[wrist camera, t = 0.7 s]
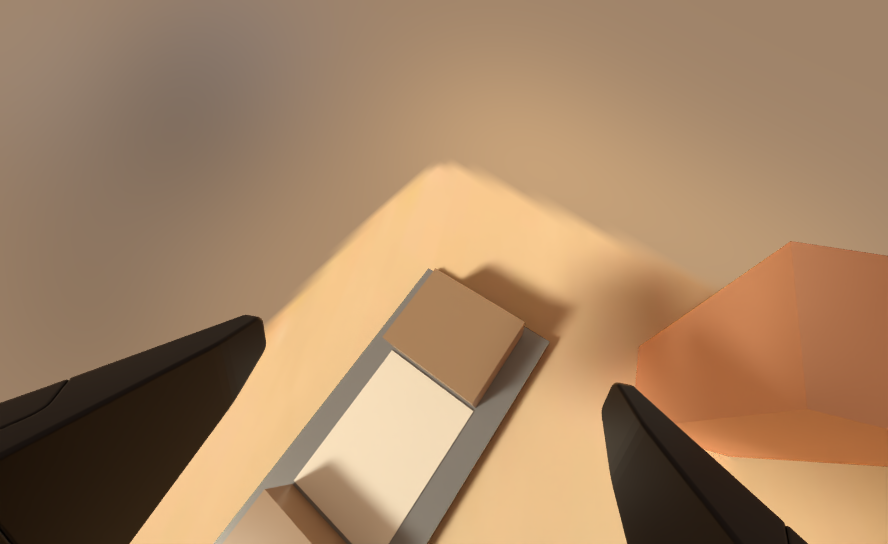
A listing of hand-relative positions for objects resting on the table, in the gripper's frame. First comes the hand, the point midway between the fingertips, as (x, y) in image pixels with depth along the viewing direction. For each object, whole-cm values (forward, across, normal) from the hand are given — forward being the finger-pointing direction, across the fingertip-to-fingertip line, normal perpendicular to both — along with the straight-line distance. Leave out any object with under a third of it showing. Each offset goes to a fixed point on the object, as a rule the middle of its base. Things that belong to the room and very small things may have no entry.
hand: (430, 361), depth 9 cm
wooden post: (+9, -13, +7) cm, 17 cm away
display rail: (+6, +2, +12) cm, 14 cm away
